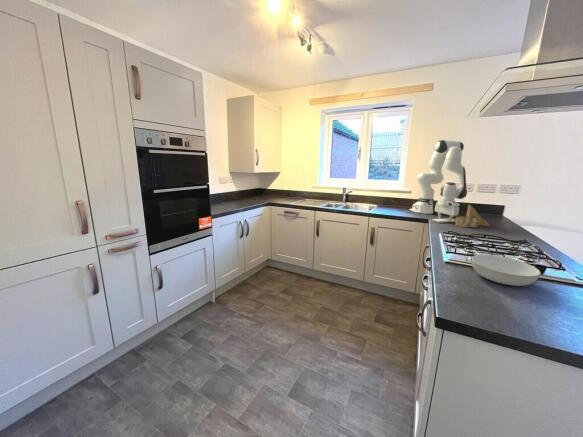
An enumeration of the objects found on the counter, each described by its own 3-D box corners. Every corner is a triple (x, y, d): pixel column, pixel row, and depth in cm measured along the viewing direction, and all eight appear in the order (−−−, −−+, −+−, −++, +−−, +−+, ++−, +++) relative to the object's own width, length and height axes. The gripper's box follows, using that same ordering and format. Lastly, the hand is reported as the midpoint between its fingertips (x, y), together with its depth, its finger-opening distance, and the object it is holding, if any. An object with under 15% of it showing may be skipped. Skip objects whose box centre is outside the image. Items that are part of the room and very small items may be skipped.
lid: (438, 223, 192) (439, 220, 191) (432, 221, 198) (432, 218, 198) (455, 222, 196) (456, 220, 195) (448, 220, 202) (449, 218, 202)
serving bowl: (470, 264, 112) (473, 250, 110) (532, 278, 99) (536, 263, 97) (466, 280, 96) (470, 264, 94) (540, 299, 83) (545, 281, 82)
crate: (461, 227, 181) (462, 218, 179) (454, 225, 186) (456, 216, 184) (477, 226, 185) (479, 217, 183) (471, 224, 190) (473, 216, 188)
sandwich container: (490, 226, 187) (495, 207, 183) (467, 223, 193) (470, 205, 190) (487, 224, 194) (491, 206, 191) (465, 221, 201) (468, 204, 197)
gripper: (434, 200, 202) (431, 216, 206) (455, 204, 183) (451, 222, 186) (440, 200, 204) (437, 216, 207) (461, 204, 184) (458, 221, 188)
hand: (444, 219), depth 196 cm, fingers open, 8 cm apart
